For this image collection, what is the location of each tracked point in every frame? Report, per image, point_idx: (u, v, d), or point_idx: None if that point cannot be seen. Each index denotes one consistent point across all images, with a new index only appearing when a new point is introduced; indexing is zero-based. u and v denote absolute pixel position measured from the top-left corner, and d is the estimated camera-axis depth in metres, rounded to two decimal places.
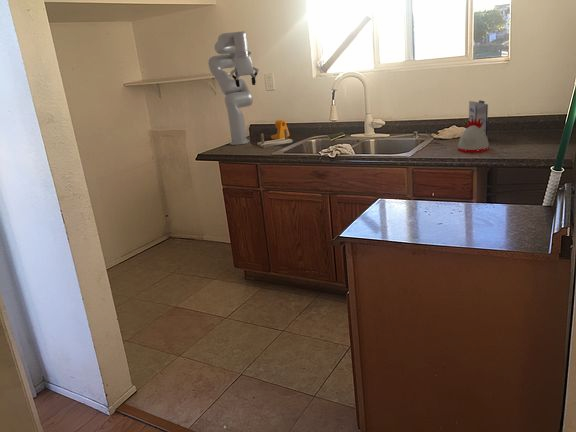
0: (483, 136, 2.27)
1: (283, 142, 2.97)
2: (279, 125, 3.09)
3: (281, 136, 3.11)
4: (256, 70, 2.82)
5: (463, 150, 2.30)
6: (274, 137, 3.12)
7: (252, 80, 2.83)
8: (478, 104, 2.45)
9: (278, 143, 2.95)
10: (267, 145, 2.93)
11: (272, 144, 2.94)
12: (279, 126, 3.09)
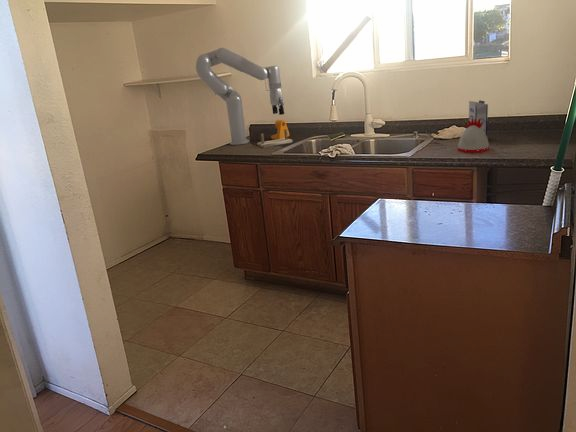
0: (483, 136, 2.27)
1: (283, 142, 2.97)
2: (279, 125, 3.09)
3: (281, 136, 3.11)
4: None
5: (463, 150, 2.30)
6: (274, 137, 3.12)
7: (275, 109, 3.14)
8: (478, 104, 2.45)
9: (278, 143, 2.95)
10: (267, 145, 2.93)
11: (272, 144, 2.94)
12: (279, 126, 3.09)
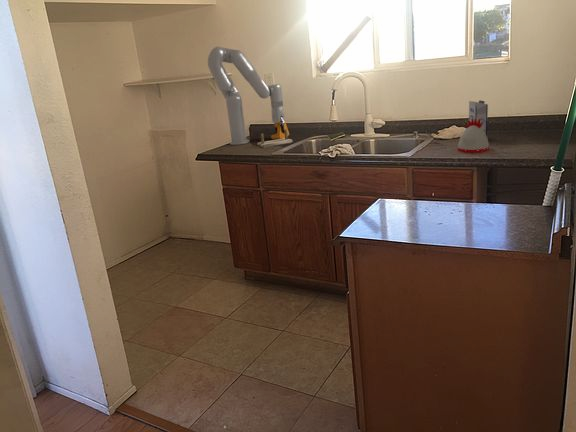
0: (483, 136, 2.27)
1: (283, 142, 2.97)
2: None
3: (281, 135, 3.11)
4: None
5: (463, 150, 2.30)
6: (274, 137, 3.12)
7: None
8: (478, 104, 2.45)
9: (278, 143, 2.95)
10: (267, 145, 2.93)
11: (272, 144, 2.94)
12: (279, 126, 3.10)
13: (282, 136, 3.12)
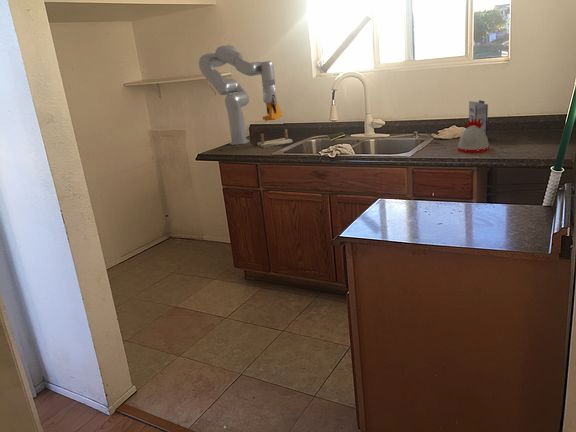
0: (483, 136, 2.27)
1: (283, 142, 2.97)
2: (270, 104, 2.89)
3: (273, 116, 2.90)
4: None
5: (463, 150, 2.30)
6: (266, 117, 2.91)
7: None
8: (478, 104, 2.45)
9: (278, 143, 2.95)
10: (267, 145, 2.93)
11: (272, 144, 2.94)
12: (270, 106, 2.89)
13: (274, 117, 2.91)
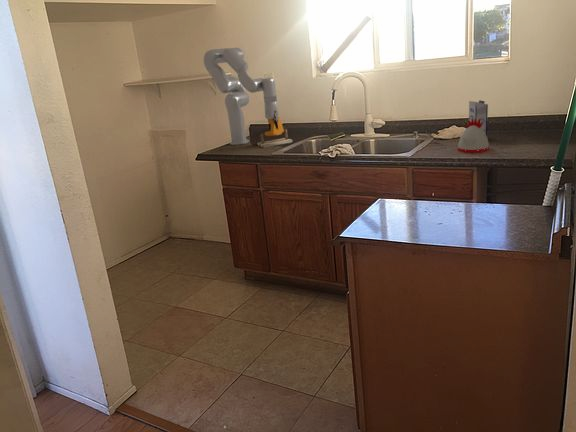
0: (483, 136, 2.27)
1: (283, 142, 2.97)
2: (272, 120, 2.92)
3: (275, 132, 2.93)
4: None
5: (463, 150, 2.30)
6: (268, 133, 2.94)
7: None
8: (478, 104, 2.45)
9: (278, 143, 2.95)
10: (267, 145, 2.93)
11: (272, 144, 2.94)
12: (272, 122, 2.92)
13: (276, 133, 2.94)
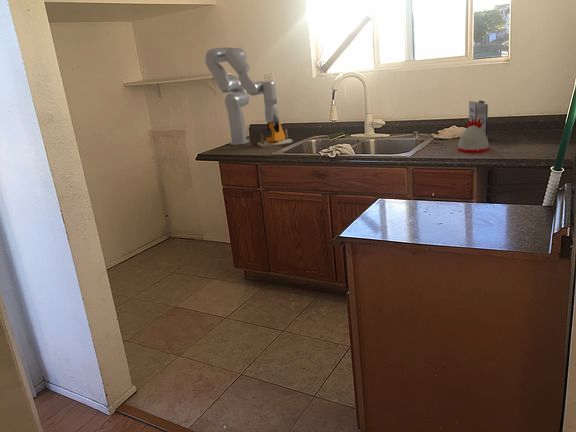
0: (483, 136, 2.27)
1: (283, 142, 2.97)
2: (273, 126, 2.92)
3: (276, 138, 2.93)
4: None
5: (463, 150, 2.30)
6: (269, 139, 2.94)
7: None
8: (478, 104, 2.45)
9: (278, 143, 2.95)
10: (267, 145, 2.93)
11: (272, 144, 2.94)
12: (273, 128, 2.92)
13: (277, 139, 2.94)
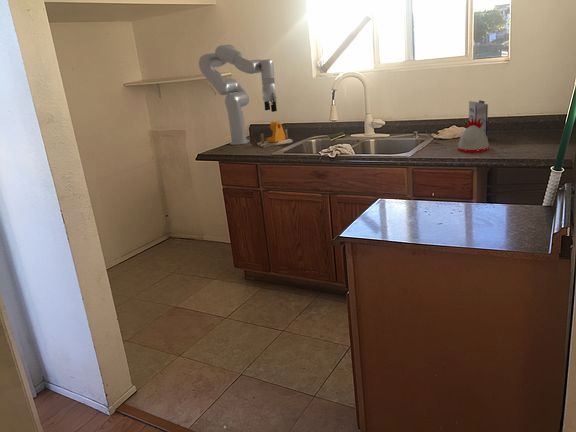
0: (483, 136, 2.27)
1: (283, 142, 2.97)
2: (274, 127, 2.92)
3: (276, 139, 2.93)
4: None
5: (463, 150, 2.30)
6: (269, 140, 2.94)
7: (267, 105, 2.97)
8: (478, 104, 2.45)
9: (278, 143, 2.95)
10: (267, 145, 2.93)
11: (272, 144, 2.94)
12: (274, 129, 2.92)
13: (277, 140, 2.94)
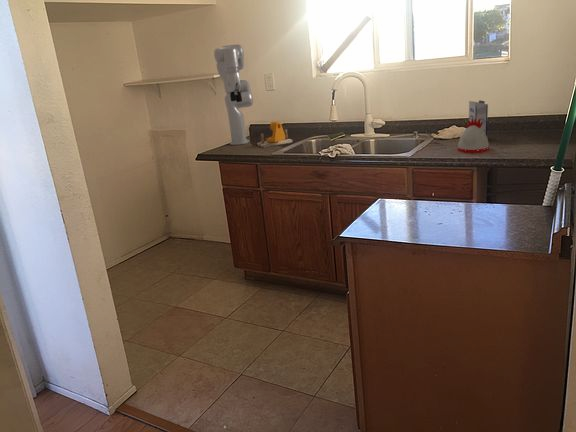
0: (483, 136, 2.27)
1: (283, 142, 2.97)
2: (274, 127, 2.92)
3: (276, 139, 2.93)
4: None
5: (463, 150, 2.30)
6: (269, 140, 2.94)
7: (233, 96, 2.87)
8: (478, 104, 2.45)
9: (278, 143, 2.95)
10: (267, 145, 2.93)
11: (272, 144, 2.94)
12: (274, 129, 2.92)
13: (277, 140, 2.94)
